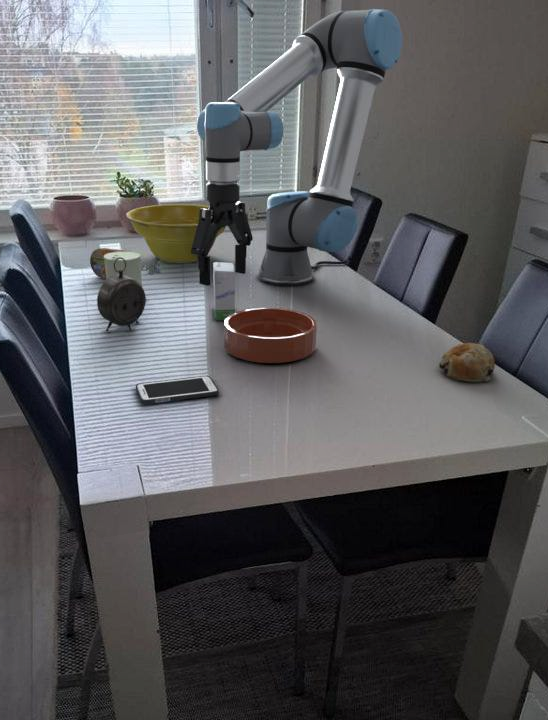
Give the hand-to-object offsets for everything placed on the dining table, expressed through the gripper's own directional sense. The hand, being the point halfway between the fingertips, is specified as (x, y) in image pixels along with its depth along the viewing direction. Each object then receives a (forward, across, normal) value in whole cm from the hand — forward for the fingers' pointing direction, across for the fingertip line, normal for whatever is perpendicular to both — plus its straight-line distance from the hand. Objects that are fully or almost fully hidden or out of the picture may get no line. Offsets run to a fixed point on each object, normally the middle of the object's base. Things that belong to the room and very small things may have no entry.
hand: (223, 278), depth 159 cm
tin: (+9, -6, -44) cm, 45 cm away
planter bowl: (+9, -35, -45) cm, 58 cm away
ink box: (+9, 0, 0) cm, 9 cm away
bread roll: (+9, -1, +61) cm, 62 cm away
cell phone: (+9, +41, +21) cm, 47 cm away
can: (+9, +7, -27) cm, 29 cm away
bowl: (+9, +12, +22) cm, 27 cm away
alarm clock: (+9, +22, -12) cm, 26 cm away
